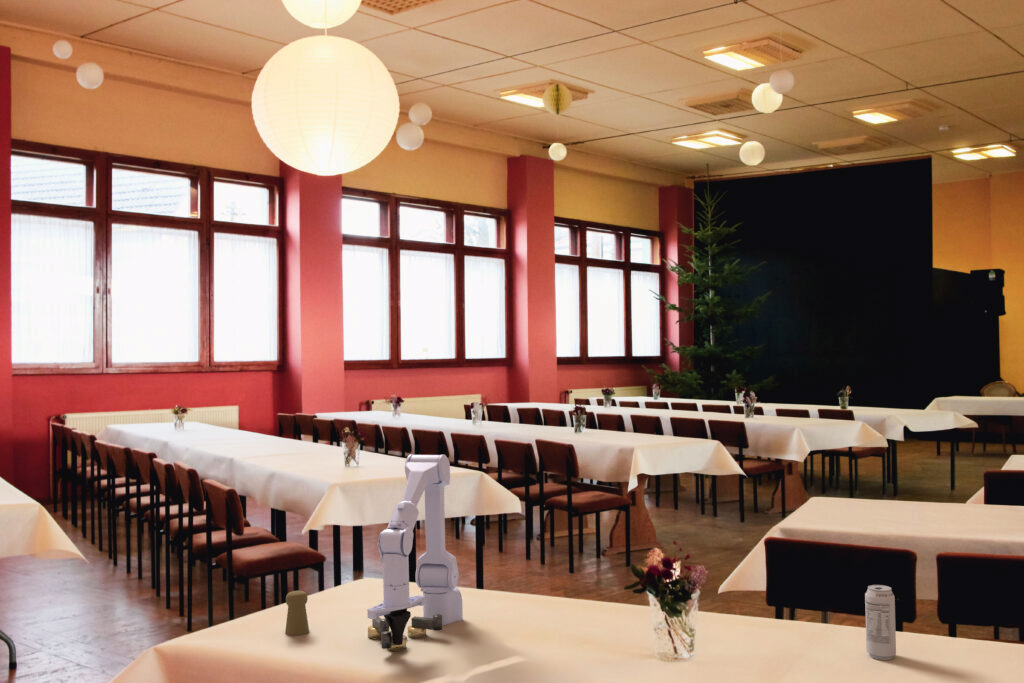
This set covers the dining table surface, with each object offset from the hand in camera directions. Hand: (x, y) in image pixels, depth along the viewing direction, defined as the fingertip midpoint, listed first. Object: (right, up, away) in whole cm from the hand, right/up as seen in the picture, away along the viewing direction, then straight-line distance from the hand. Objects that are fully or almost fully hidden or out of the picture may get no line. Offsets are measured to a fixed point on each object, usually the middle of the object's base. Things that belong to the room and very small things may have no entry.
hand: (397, 644), depth 201 cm
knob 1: (-6, -3, +13) cm, 14 cm away
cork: (-27, -5, +19) cm, 33 cm away
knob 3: (+5, -3, +13) cm, 14 cm away
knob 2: (-2, -3, +3) cm, 4 cm away
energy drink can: (+106, -2, -4) cm, 107 cm away
